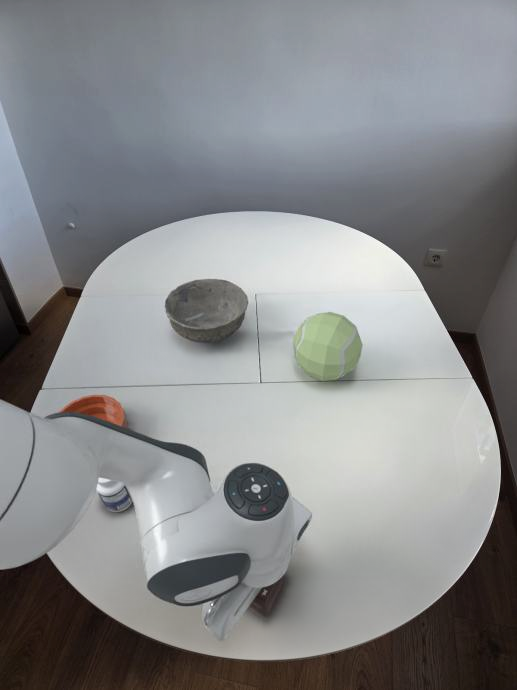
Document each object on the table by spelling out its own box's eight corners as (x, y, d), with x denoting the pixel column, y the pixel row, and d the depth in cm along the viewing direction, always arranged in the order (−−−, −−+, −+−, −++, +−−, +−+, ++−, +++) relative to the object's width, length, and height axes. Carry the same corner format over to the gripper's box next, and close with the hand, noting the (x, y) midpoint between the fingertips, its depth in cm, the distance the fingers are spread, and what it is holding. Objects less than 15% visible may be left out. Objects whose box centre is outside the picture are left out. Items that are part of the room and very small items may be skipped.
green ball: (282, 379, 100) (284, 332, 90) (306, 340, 110) (310, 293, 100) (344, 401, 96) (353, 353, 85) (363, 358, 105) (373, 310, 95)
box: (285, 581, 69) (286, 564, 64) (266, 618, 65) (266, 603, 60) (252, 561, 71) (251, 543, 66) (232, 596, 68) (230, 580, 62)
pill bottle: (109, 485, 82) (95, 456, 75) (137, 485, 81) (126, 457, 75) (100, 512, 78) (85, 485, 71) (130, 513, 78) (117, 486, 71)
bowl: (262, 319, 116) (262, 289, 110) (223, 369, 103) (221, 338, 96) (198, 298, 123) (194, 269, 117) (154, 342, 110) (146, 312, 103)
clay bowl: (85, 480, 82) (77, 466, 79) (45, 441, 89) (36, 426, 86) (143, 431, 90) (138, 417, 87) (102, 399, 97) (96, 384, 94)
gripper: (222, 637, 50) (229, 662, 59) (319, 504, 61) (312, 544, 71) (184, 599, 53) (197, 629, 62) (283, 479, 64) (281, 520, 74)
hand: (259, 583), depth 67 cm, fingers closed on box, 6 cm apart
